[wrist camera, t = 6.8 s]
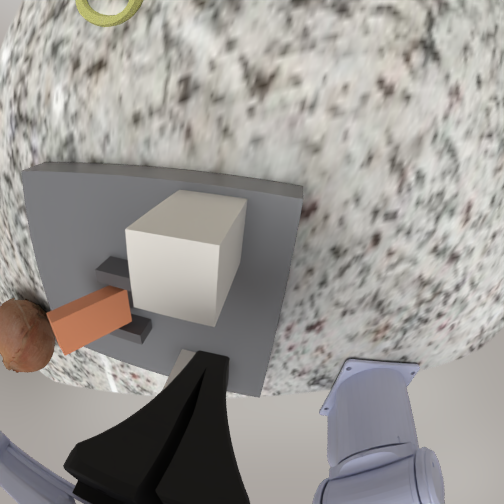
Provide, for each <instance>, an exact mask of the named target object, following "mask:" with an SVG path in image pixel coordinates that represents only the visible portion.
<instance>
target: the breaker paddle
mask: <svg viewBox="0 0 504 504" xmlns="http://www.w3.org/2000/svg"><path fill="white" fill-rule="evenodd" d="M46 314H47V316H48V319H49V322H50V324H51V327H52V330H53V332H54V335H55V337H56V339H57V342H58V344H59V346H60V348H61V350H62V351H63V353H64V355H67V354H69V353H71V352H73V351H75V350H77V349H79V348H81V347H83V346H85V345H87V344H89V343H91V342H93V341H95V340H97V339H99V338H101V337H103V336H105V335H107V334H109V333H111V332H112V331H114V330H116V329H118V328H120V327H122V326H124V325H126V324H128V323H130V322H132V318H131V312H130V306H129V300H128V294H127V290H124V289H121V288H117V287H113V286H110V285H109V286H106V287H104V288H102V289H100V290H97V291H95V292H93V293H90V294H88V295H86V296H83V297H81V298H79V299H77V300H74V301H72V302H70V303H68V304H65V305H63V306H61V307H59V308H56V309H54V310H52V311H50V312H47V313H46Z"/></svg>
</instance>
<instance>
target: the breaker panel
mask: <svg viewBox="0 0 504 504" xmlns="http://www.w3.org/2000/svg"><path fill="white" fill-rule="evenodd" d="M22 182H23V191H24V199H25V206H26V212H27V218H28V224H29V229H30V235H31V239H32V244H33V249H34V253H35V257H36V261H37V265H38V269H39V273H40V277H41V280H42V284H43V287H44V290H45V294H46V297H47V300H48V303H49V306H50V309H51V311H52V310H54V309H56V308H59V307H61V306H63V305H65V304H68V303H70V302H72V301H74V300H77V299H79V298H81V297H83V296H86V295H88V294H90V293H93V292H95V291H97V290H100V289H102V288H104V287H106V286H109V285H110V286H113V287H117V288H121V289H124V290H127V294H128V300H129V306H130V312H131V318H132V322H130V323H128V324H126V325H124V326H122V327H120V328H118V329H116V330H114V331H112V332H111V333H109V334H107V335H105V336H103V337H101V338H99V339H97V340H95V341H93V342H91V343H89V344H87V345H85V346H84V347H86V348H89V349H91V350H94V351H96V352H99V353H101V354H104V355H106V356H109V357H112V358H114V359H117V360H120V361H123V362H125V363H128V364H131V365H134V366H137V367H140V368H143V369H146V370H149V371H152V372H156V373H159V374H162V375H166V376H169V375H170V373H171V371H172V369H173V367H174V365H175V363H176V360H177V358H178V356H179V354H180V352H181V350H182V349H184V350H188V351H192V352H197V351H199V350H201V351H205V352H210V353H214V354H219V355H224V356H228V357H229V358H230V365H229V378H228V386H227V391H229V392H233V393H238V394H243V395H249V396H254V397H260V395H261V391H262V387H263V383H264V379H265V375H266V371H267V367H268V363H269V359H270V355H271V351H272V346H273V342H274V338H275V334H276V329H277V325H278V321H279V316H280V312H281V307H282V303H283V298H284V294H285V289H286V284H287V280H288V275H289V270H290V265H291V260H292V256H293V251H294V246H295V241H296V235H297V230H298V225H299V220H300V215H301V209H302V204H303V186H298V185H293V184H287V183H281V182H275V181H268V180H262V179H255V178H248V177H241V176H234V175H226V174H219V173H210V172H202V171H193V170H183V169H173V168H162V167H150V166H136V165H120V164H100V163H66V162H45V163H42V164H39V165H36V166H33V167H31V168H28V169H25V170H23V171H22ZM178 190H187V191H195V192H203V193H210V194H217V195H224V196H231V197H238V198H245V199H247V208H246V216H245V225H244V234H243V243H242V252H241V261H240V264H239V267H238V269H237V272H236V274H235V277H234V279H233V282H232V284H231V287H230V290H229V292H228V295H227V297H226V300H225V302H224V305H223V307H222V310H221V312H220V315H219V317H218V320H217V323H216V325H215V327H212V326H208V325H203V324H199V323H194V322H190V321H186V320H182V319H178V318H174V317H170V316H166V315H162V314H158V313H154V312H150V311H146V310H143V309H139V308H136V307H134V304H133V297H132V290H131V283H130V275H129V266H128V257H127V246H126V234H125V229H126V228H127V227H128V226H130V225H131V224H132V223H134V222H135V221H136V220H138V219H139V218H140V217H142V216H143V215H144V214H146V213H147V212H148V211H150V210H151V209H153V208H154V207H155V206H157V205H158V204H160V203H161V202H162V201H164V200H165V199H167V198H168V197H169V196H171V195H172V194H174V193H175V192H177V191H178Z"/></svg>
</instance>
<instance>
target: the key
mask: <svg viewBox="0 0 504 504" xmlns="http://www.w3.org/2000/svg"><path fill="white" fill-rule="evenodd" d="M142 1H143V0H129V2H128V4H127V6H126V8H125V9H124V10H123V11H122V12H121V13H119V14H117V15H109V16H108V15H103V14H100V13H97V12H96V11H94V10H93V9H92V8H91V7H90V6H89V4H88V2H87V0H76V6H77V9H78V11H79V13H80V14H81V15H82V16H83V17H84V18H85V19H86V20H87V21H89V22H90V23H92V24H94V25H97V26H101V27H110V26H115V25H118V24H121V23H123V22H125V21H127V20H128V19H129V18H131V17H132V16H133V15H134V14H135V13H136V12H137V10H138V9H139V7H140V6H141V4H142Z"/></svg>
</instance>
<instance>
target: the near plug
mask: <svg viewBox="0 0 504 504" xmlns="http://www.w3.org/2000/svg"><path fill="white" fill-rule="evenodd" d="M246 208H247V199H245V198H238V197H231V196H224V195H217V194H210V193H203V192H195V191H187V190H178V191H177V192H175V193H174V194H172V195H171V196H169V197H168V198H167V199H165V200H164V201H162V202H161V203H160V204H158V205H157V206H155V207H154V208H153V209H151V210H150V211H148V212H147V213H146V214H144V215H143V216H142V217H140V218H139V219H138V220H136V221H135V222H134V223H132V224H131V225H130V226H128V227H127V228H126V229H125V234H126V246H127V257H128V266H129V275H130V283H131V290H132V297H133V304H134V307H136V308H139V309H143V310H146V311H150V312H154V313H158V314H162V315H166V316H170V317H174V318H178V319H182V320H186V321H190V322H194V323H199V324H203V325H208V326H212V327H215V325H216V323H217V320H218V317H219V315H220V312H221V310H222V307H223V305H224V302H225V300H226V297H227V295H228V292H229V290H230V287H231V284H232V282H233V279H234V277H235V274H236V272H237V269H238V267H239V264H240V261H241V252H242V243H243V234H244V225H245V216H246Z"/></svg>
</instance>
